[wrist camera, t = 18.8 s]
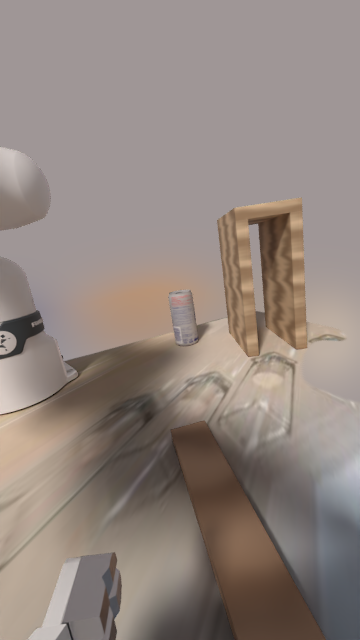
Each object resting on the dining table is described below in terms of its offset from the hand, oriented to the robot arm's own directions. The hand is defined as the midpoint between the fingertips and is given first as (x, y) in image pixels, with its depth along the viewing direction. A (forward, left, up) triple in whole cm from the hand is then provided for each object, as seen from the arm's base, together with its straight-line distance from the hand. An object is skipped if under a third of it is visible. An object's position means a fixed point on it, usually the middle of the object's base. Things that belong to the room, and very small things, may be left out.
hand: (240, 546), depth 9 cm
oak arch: (-35, +35, -11) cm, 51 cm away
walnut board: (-9, +5, -11) cm, 15 cm away
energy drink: (-47, +23, -11) cm, 54 cm away
